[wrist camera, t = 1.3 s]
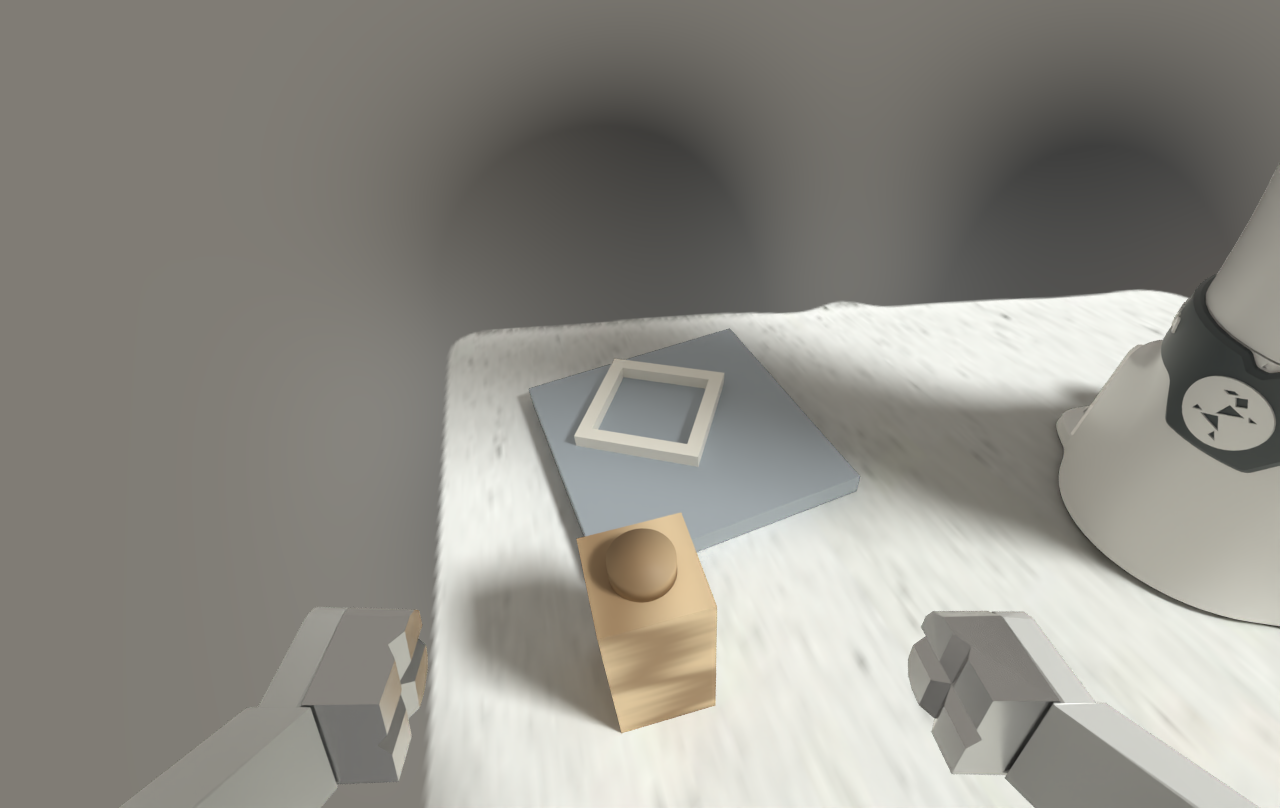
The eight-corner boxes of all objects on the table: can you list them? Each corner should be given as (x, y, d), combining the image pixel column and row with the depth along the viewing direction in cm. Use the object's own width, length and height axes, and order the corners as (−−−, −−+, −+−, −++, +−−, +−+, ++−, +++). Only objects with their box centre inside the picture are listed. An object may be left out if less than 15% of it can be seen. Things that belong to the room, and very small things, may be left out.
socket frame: (724, 382, 48) (724, 372, 47) (698, 467, 42) (698, 457, 41) (615, 368, 50) (614, 358, 50) (576, 445, 44) (574, 435, 43)
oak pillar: (686, 618, 35) (680, 498, 28) (715, 705, 32) (717, 593, 24) (602, 642, 35) (573, 525, 27) (621, 733, 31) (594, 627, 24)
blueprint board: (729, 342, 54) (729, 328, 53) (856, 490, 41) (860, 476, 40) (532, 402, 50) (528, 388, 49) (603, 587, 37) (600, 574, 36)
